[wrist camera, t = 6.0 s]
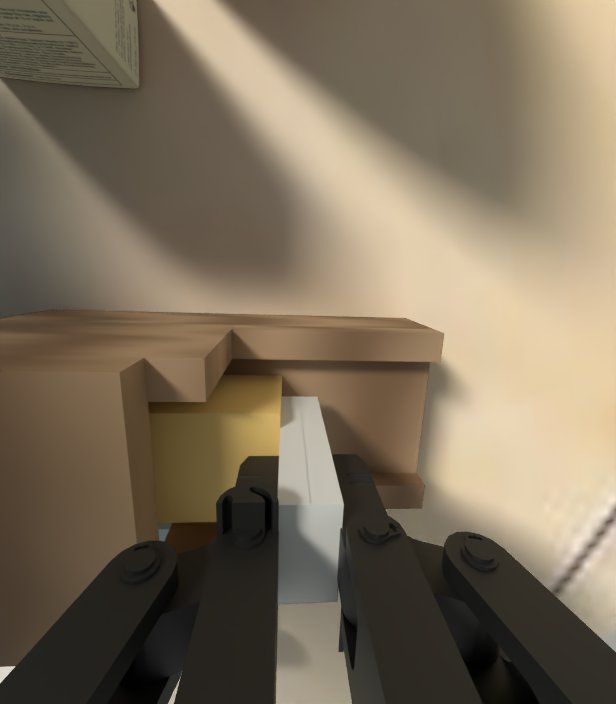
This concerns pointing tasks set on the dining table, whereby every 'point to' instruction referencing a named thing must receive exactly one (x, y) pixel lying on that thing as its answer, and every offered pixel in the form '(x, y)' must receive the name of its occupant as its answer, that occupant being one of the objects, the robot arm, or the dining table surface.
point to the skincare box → (70, 42)
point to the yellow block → (211, 443)
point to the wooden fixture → (134, 429)
